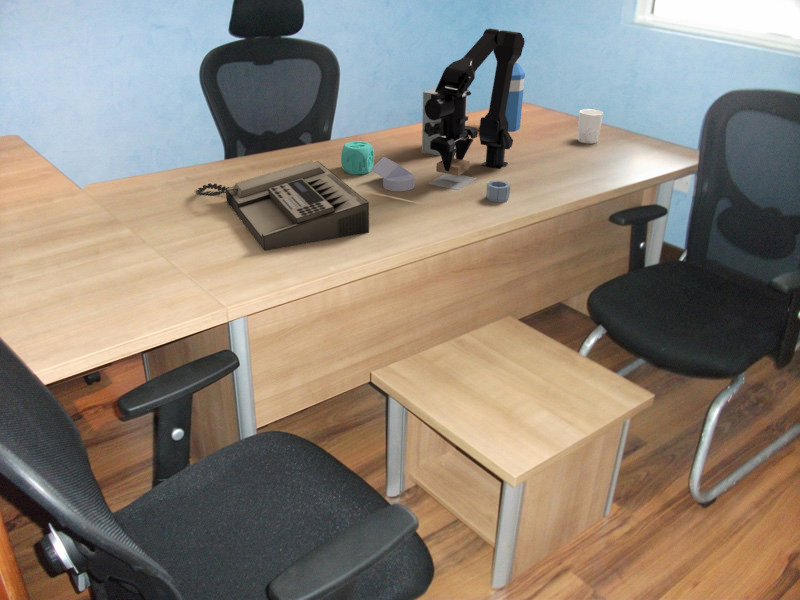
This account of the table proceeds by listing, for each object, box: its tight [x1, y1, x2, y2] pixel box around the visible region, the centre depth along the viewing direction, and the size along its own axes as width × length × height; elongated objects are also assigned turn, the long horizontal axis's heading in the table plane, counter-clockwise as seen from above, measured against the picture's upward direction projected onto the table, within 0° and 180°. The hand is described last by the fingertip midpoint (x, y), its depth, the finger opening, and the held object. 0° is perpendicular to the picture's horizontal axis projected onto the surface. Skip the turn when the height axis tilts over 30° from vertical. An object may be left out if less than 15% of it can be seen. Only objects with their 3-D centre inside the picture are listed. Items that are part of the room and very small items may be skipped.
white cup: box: [577, 108, 604, 145], centre depth 255 cm, size 8×8×10 cm
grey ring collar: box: [485, 180, 511, 203], centre depth 205 cm, size 6×6×4 cm
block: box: [435, 157, 470, 176], centre depth 215 cm, size 7×7×2 cm
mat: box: [427, 173, 478, 191], centre depth 218 cm, size 12×10×1 cm
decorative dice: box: [340, 140, 375, 176], centre depth 224 cm, size 8×8×8 cm
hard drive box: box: [421, 86, 468, 157], centre depth 241 cm, size 16×8×20 cm, turn 144°
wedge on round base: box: [370, 156, 415, 192], centre depth 214 cm, size 9×7×13 cm
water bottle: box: [505, 59, 526, 132], centre depth 264 cm, size 9×9×25 cm
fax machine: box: [194, 160, 370, 252], centre depth 194 cm, size 45×34×10 cm
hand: (452, 167), depth 216 cm, fingers closed on block, 7 cm apart
